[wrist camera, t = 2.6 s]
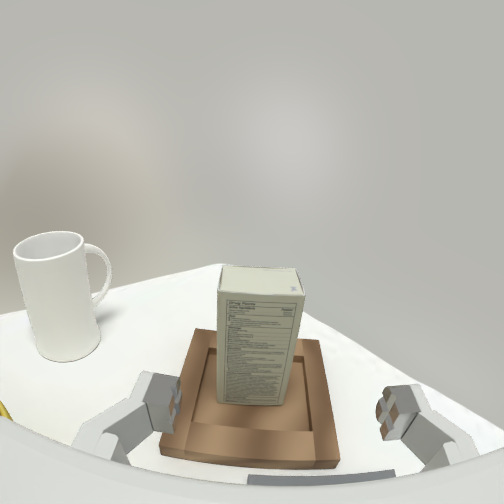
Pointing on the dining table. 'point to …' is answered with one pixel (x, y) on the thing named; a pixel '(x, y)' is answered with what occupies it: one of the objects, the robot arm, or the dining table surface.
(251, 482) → the mat
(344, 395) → the dining table surface
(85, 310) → the mug
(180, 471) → the dining table surface
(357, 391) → the dining table surface
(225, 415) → the walnut tray
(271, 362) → the skincare box
